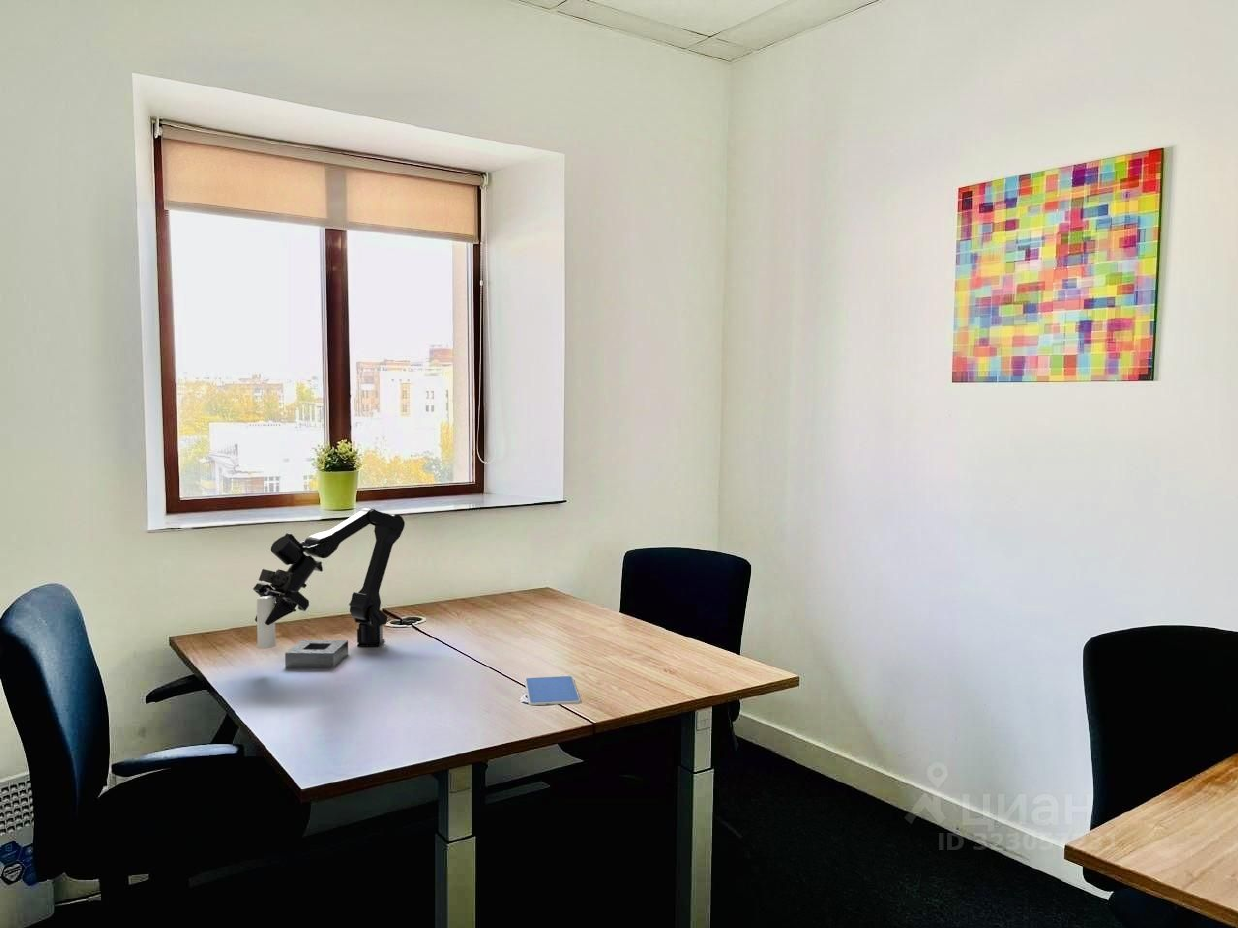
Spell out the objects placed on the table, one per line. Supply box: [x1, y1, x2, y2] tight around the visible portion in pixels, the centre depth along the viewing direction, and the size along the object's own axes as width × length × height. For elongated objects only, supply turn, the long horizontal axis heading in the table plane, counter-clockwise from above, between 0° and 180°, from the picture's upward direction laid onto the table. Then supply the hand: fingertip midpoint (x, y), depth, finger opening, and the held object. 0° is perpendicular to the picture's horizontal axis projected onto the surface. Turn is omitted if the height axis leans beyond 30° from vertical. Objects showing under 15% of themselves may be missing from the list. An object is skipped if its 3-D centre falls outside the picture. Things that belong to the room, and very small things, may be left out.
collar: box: [284, 639, 349, 669], centre depth 254 cm, size 13×13×4 cm
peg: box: [256, 596, 277, 650], centre depth 244 cm, size 4×4×13 cm
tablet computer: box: [524, 675, 582, 706], centre depth 230 cm, size 19×13×1 cm, turn 9°
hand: (261, 622), depth 242 cm, fingers closed on peg, 4 cm apart
